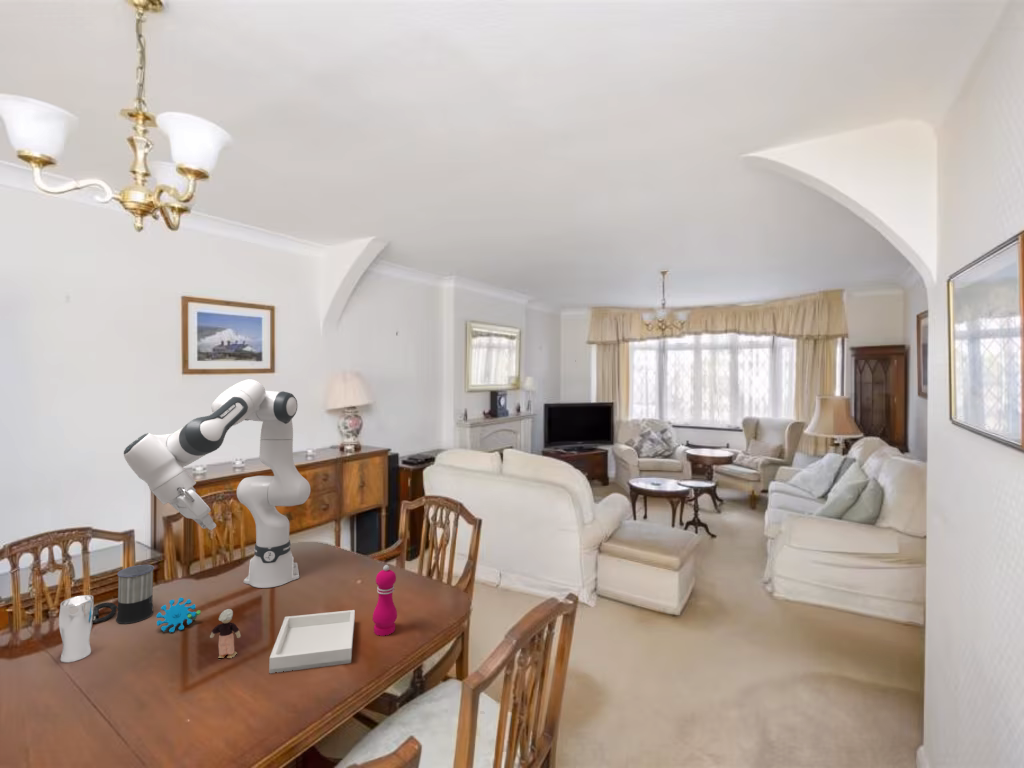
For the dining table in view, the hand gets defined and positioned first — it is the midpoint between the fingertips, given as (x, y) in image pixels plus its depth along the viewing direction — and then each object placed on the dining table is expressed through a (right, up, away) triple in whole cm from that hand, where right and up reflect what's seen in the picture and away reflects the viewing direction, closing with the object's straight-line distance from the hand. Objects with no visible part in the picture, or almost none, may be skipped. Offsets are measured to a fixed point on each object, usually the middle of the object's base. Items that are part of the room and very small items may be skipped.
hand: (210, 527), depth 131 cm
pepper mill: (+44, -36, +14) cm, 59 cm away
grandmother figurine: (+5, -35, -1) cm, 35 cm away
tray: (+27, -35, +5) cm, 45 cm away
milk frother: (-39, -34, +17) cm, 54 cm away
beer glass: (-34, -34, -3) cm, 48 cm away
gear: (-18, -34, +13) cm, 41 cm away
